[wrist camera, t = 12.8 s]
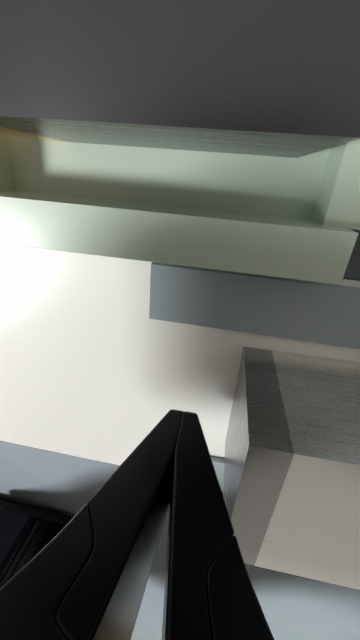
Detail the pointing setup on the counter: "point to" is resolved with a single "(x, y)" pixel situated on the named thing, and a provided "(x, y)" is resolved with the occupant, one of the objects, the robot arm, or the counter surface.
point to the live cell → (183, 73)
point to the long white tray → (145, 345)
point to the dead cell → (296, 465)
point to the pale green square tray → (185, 205)
